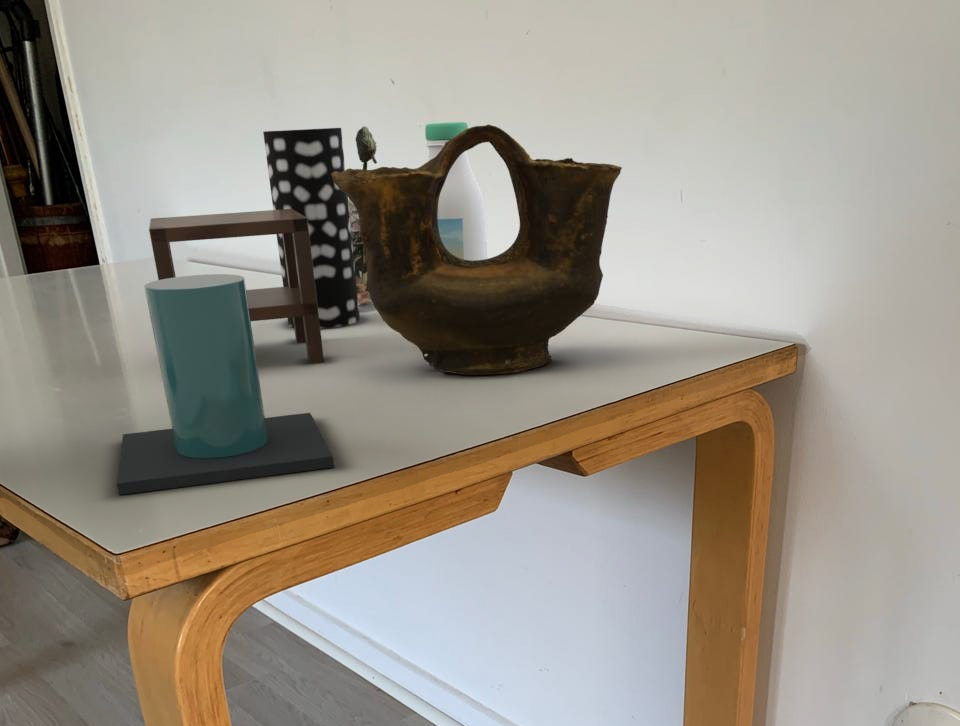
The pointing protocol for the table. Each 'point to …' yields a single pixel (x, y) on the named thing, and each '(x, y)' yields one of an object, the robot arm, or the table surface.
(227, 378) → the teal tin can
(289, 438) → the mat
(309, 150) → the spotted tube
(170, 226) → the shelf
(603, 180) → the pottery vessel
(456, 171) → the milk bottle
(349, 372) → the table surface
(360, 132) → the plant with pod
